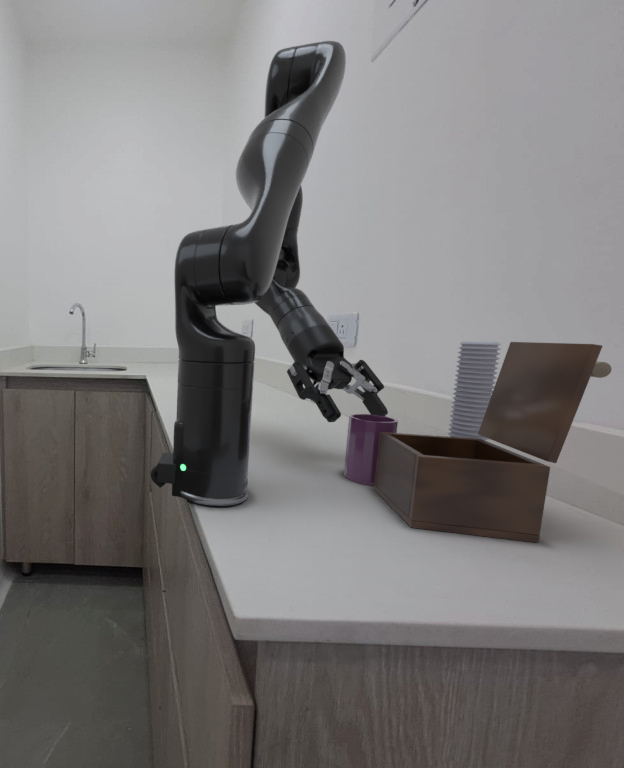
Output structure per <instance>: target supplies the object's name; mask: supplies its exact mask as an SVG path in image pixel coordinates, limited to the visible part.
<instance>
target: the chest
mask: <svg viewBox="0 0 624 768" xmlns="http://www.w3.org/2000/svg"><path fill="white" fill-rule="evenodd" d="M550 472H551V467H550V466H549V465H546V464H544V463H542V462H539V461H536V460H534V459H531V458H530V457H527V456H524V455H522V454H519V453H517V452H514V451H512V450H509V449H507V448H504V447H503V446H499V445H497V444H494V443H492V442H490V441H488V440H482V439H478V438H463V437H450V436H449V435H447V436H445V435H433V434H417V433H416V434H415V433H401V432H397V433H389V432H379V442H378V452H377V462H376V471H375V481H374V486H373V491H374V492H376V493H377V494H378V495H379V496H380V497H381V498H382V500H383V501H384V502H385V503H386V504H387V505H388V506H390V508H392V510H393V511H394V512H395V513H396V514H397V515H398V516H399V517H400V519H402V520H403V521H404V522H405V523H406V524H407V525H408V526H409V527H410V529H411V528H412V529H421V530H428V531H438V532H445V533H454V534H461V535H462V534H463V535H470V536H479V537H486V538H495V539H503V540H510V541H511V540H512V541H520V542H530V543H539V542H540V535H541V528H542V522H543V516H544V510H545V504H546V497H547V491H548V485H549V478H550Z"/></svg>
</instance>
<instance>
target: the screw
mask: <svg viewBox="0 0 624 768" xmlns="http://www.w3.org/2000/svg"><path fill="white" fill-rule="evenodd" d="M459 345H461V346H459V347H458V349H459V350H460V351H457V353H458V354H460V355H458V356H457V358H458V359H459V360H457V361H456V363H457V364H458V365H455V366H456V368H458V369H456V370H455V372H456V374H454V376H455V377H457V378H455V379H454V381H455V382H456V383H454V384H453V385H454V386H456V387H454V388H453V390H454V391H455V392H453V393H452V394H453V395H454V396H453V397H452V399H453V400H454V401H451V404H453V405H452V406H450V408H451V409H452V410H450V413H452V414H450V415H449V417H450V418H451V419H449V420H448V421H449V422H451V423H449V424H448V426H450V427H449V428H448V431H449V432H447V436H449V437H463V438H478V439H482V440H485V441H488V440H489V439H488V438H486V437H483V436H481V435H478V432H479V429H480V427H481V424H482V421H483V418H484V415H485V412H486V410H487V407H488V404H489V401H490V398H491V396H492V393H493V390H494V387H495V384H496V381H494V380H497V379H498V376H497V377H496V375H497V374H498V375H499V373H498V372H497V371H495V370H499V367H498V366H497V365H499V364H500V363H499V362H497V361H498V360H500V359H501V358H500V357H498V356H499V355H501V353H500V352H498V351H500V350H502V348H501V347H498V346H501V345H502V343H500V342H499V341H498V342H497V341H461V342H460V343H459Z"/></svg>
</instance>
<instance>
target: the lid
mask: <svg viewBox="0 0 624 768" xmlns="http://www.w3.org/2000/svg"><path fill="white" fill-rule="evenodd" d="M602 349H603V345H601V344H595V343H572V342H571V343H569V342H567V343H565V342H534V341H531V342H530V341H510V342H509V345H508V347H507V351H506V353H505V357H504V359H503V362H502V365H501V368H500V370H499V373H498V376H497V379H496V381H495V382H496V383H495V384H494V389H492V391H493V393H492V394H491V395H492V396H491V398H490V401H489V404H488V407H487V410H486V412H485V415H484V418H483V421H482V424H481V427H480V429H479V432H478V435H481V436H483V437H486V438H488V440H491V441H493V442H497V443H499V444H502V445H504V446H506V447H509V448H512V449H514V450H516V451H519V452H522V453H524V454H527V455H529V456H533V457H535V458H537V459H540V460H543V461H545V462H547V463H553V464H557V462H558V460H559V457H560V455H561V452H562V450H563V447H564V445H565V442H566V440H567V437H568V434H569V432H570V430H571V427H572V425H573V423H574V420H575V416H576V414H577V412H578V409H579V407H580V404H581V402H582V399H583V396H584V394H585V392H586V389H587V387H588V384H589V382H590V379H591V378H598V379H601V378H602V379H603V378H606V377H607V376H609V375H610V374H611V373H612V366H611V364H610V363H608V362H606V361H598V358H599V357H600V354H601V351H602Z"/></svg>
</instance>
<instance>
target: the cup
mask: <svg viewBox="0 0 624 768" xmlns="http://www.w3.org/2000/svg"><path fill="white" fill-rule="evenodd" d="M398 424H399V420H398V419H397V418H393V417H390V416H387V415H386V416H379V415H371V414H370V413H369V414H368V413H353V414H350V415H349V416H348V424H347V435H346V447H345V456H344V457H345V458H344V468H343V469H344V470H343V472H344V473H343V475H344V477H345V478H346V479H348V480H350V481H352V482H355V483H357V484H362V485H366V486H372V487H374V481H375V471H376V462H377V452H378V442H379V432H389V433H398V426H399V425H398Z"/></svg>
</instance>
